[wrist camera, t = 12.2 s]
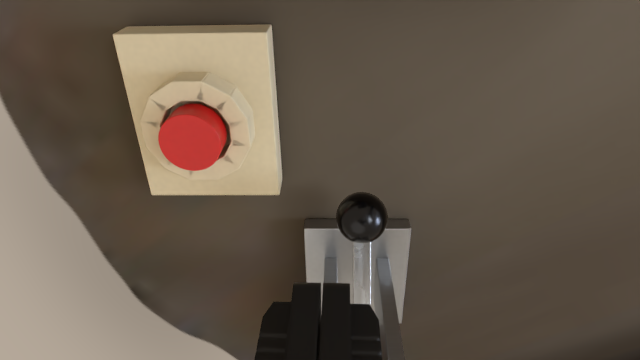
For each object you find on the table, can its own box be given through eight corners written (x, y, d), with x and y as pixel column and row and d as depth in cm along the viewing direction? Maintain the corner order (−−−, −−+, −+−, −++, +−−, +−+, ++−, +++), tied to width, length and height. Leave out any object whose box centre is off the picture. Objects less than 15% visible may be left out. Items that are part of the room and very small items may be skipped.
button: (162, 103, 27) (152, 114, 25) (223, 102, 26) (216, 114, 25) (173, 157, 28) (164, 171, 27) (230, 157, 28) (224, 171, 27)
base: (304, 218, 35) (292, 343, 25) (409, 218, 35) (440, 344, 24) (308, 311, 40) (299, 446, 30) (399, 312, 40) (422, 449, 29)
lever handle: (335, 190, 30) (336, 194, 26) (384, 190, 30) (390, 194, 26) (336, 383, 30) (336, 409, 27) (384, 383, 30) (389, 410, 27)
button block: (126, 26, 28) (97, 41, 24) (271, 24, 28) (262, 39, 24) (161, 179, 33) (141, 210, 30) (282, 179, 33) (276, 210, 30)
